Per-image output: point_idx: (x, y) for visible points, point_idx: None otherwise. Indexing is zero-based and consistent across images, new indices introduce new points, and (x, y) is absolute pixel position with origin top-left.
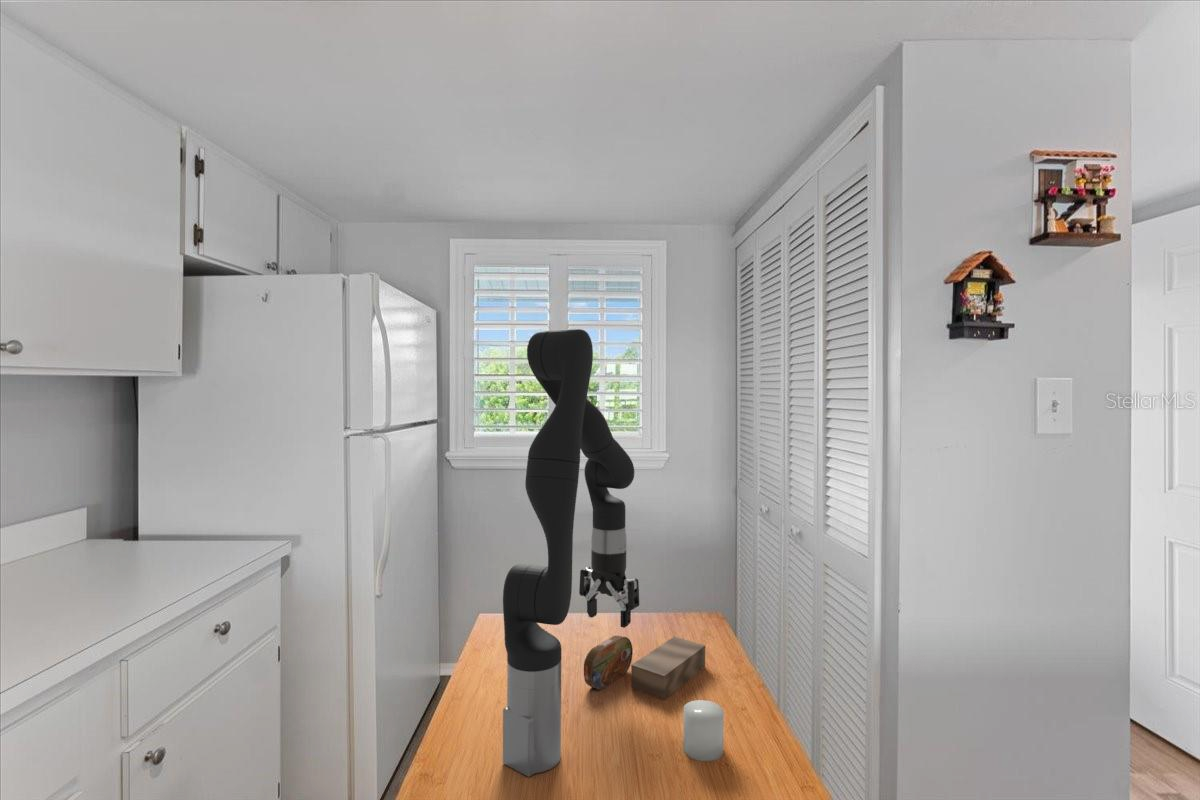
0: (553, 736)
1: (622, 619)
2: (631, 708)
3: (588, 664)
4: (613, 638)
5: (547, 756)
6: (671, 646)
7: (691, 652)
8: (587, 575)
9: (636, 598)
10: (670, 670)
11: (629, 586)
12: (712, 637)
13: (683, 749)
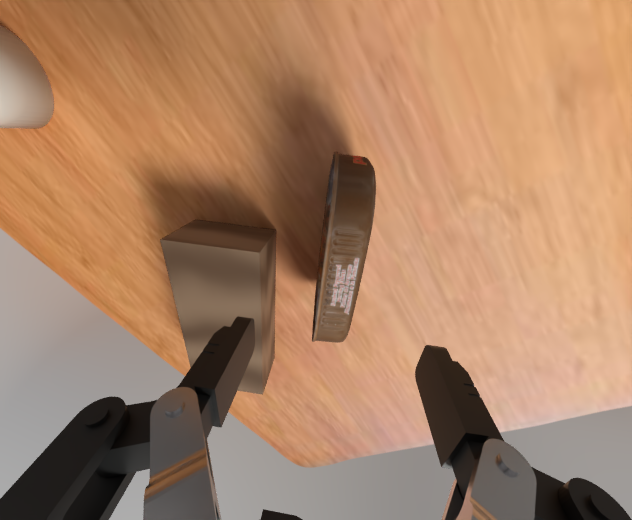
0: None
1: (225, 343)
2: (224, 149)
3: (354, 168)
4: (337, 316)
5: None
6: None
7: (194, 354)
8: None
9: (74, 509)
10: (170, 271)
11: None
12: (261, 420)
13: (26, 45)
